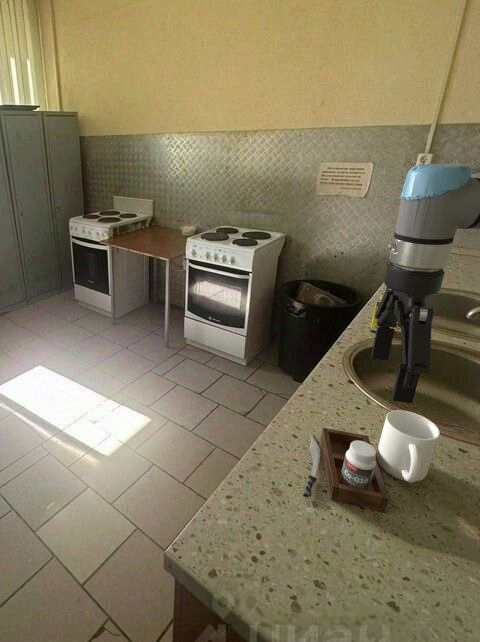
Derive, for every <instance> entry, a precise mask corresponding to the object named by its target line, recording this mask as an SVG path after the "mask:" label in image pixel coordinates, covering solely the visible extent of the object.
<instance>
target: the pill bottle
mask: <svg viewBox="0 0 480 642" xmlns="http://www.w3.org/2000/svg"><path fill="white" fill-rule="evenodd" d="M375 459H377V450H376V448H375V447H374V446H373V445H372V444H371V445H370V444H368V443H366V442H364V441H353V442H352V443H351V445H350V448H349V450H348V451H347V452H346V455H345V459H344V463H343V467H342V471H341V476H340V480H341V483H342V484H343V485H347V486H351V487H356V488H360V489H365V490H369V487H370V484H371V480H372V477H373V473H374V469H375V466H376V462H377V460H376V461H375Z"/></svg>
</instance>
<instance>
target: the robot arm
mask: <svg viewBox="0 0 480 642" xmlns="http://www.w3.org/2000/svg"><path fill="white" fill-rule="evenodd" d="M405 177H406V178H405V180H404V182H403V183H404V184H403V187H402V190H401V193H400V201H399V208H398V213H397V218H396V223H395V228H394V233H393V237H392V243H388V245H387V249H388V250H390V253H389V257H388V260H389V261H390V262H389V263H388V264H387V265H386V270H385V275H384V280H383V283H384V284H383V285H385V286H386V288H385V291H384V293H383V296H382V297H383V298H382V300H381V302H380V304H379V307H378V309H377V311H376V313H375V319H378V320H377V326H379V327H377V330H376V333H375V335H374V340H373V345H372V349H371V353H370V358H371V359H372V360H380V361H389V357H390V353H391V349H392V344H393V340H394V336H395V332H396V331H395V328H397V327H398V328H400V336H401V337H400V338H401V356H402V357H401V358H402V360H401V361H402V363H399V364H397V374H396V377H395V382H394V386H393V389H392V394H391V400H392V402H397V403H398V402H399V403H406V404H413V402H414V398H415V394H416V391H417V386H418V382H419V379H420V376H421V374H427V375H429V374H430V371H431V347H432V346H431V345H432V323H433V318H434V314H435V309H434V308H433V307H427V305H426V298H427V297H429V296H431V295H435V294H437V293H439V292H440V291H441V289H442V284H443V281H444V278H445V273H446V272H445V270H444V268H446V267H447V266H448V264H449V260H450V256H451V253H452V249H453V244H454V239H455V235H456V233H457V229H459V230H460V229H462V230H468V229H470V230H471V229H477V230H479V229H480V166H473V167H470V165H467V164H464V163H424V164H422V163H421V164H418V165H417V164H416V165H414V166H413V167H411V168H410V169H409V170H408V171H407V174H406V176H405ZM382 312H383V313H382ZM390 327H394V329H393V328H390Z"/></svg>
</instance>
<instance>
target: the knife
mask: <svg viewBox="0 0 480 642" xmlns="http://www.w3.org/2000/svg"><path fill="white" fill-rule="evenodd" d="M309 435H310V444H309V448H308V449H309V452H310V455H311V458H312V469H311V473H310V474H309V475H308V481H307V483H306V484H305V489H304V490H305V491H304V493H303V494H302V497H304V498H311V497H312V495H313V494H312V488H313V485H314V483H315V482H316V481H318V480H317V479H318V478H317V475H318V471H319V466H320V459H321V448H320V446H319V444H318V443H317V441H316V439H315V437H314V436H313V434H312V432H309Z"/></svg>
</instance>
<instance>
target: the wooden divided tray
mask: <svg viewBox="0 0 480 642" xmlns="http://www.w3.org/2000/svg"><path fill="white" fill-rule="evenodd" d="M319 441H320V445H321V452H322V457H323V463H324V468H325V470H324V471H325V475H326V480H327V487H328V493H329V498H330V501H332V502H337V503H341V504H345V505H349V506H353V507H357V508H363V509H367V510H371V511H375V512H379V513H382V514H383V513H384V514H385V513H386V510H387V507H388V504H389V500H390V499H389V495H388V492H387V489H386V486H385V484H384V480H383V477H382V474H381V470H380V468H379V464H378V461H377V458H375V461H376V466H375V469H374V473H373V477H372V480H371V484H370V487H369V490H365V489H360V488H356V487H351V486H347V485H343V484H342V483H341V480H340V476H341V471H342V467H343V463H344V459H345V455H346V452H347V451H348V450H349V448H350V445H351V443H352V442H353V441H364V442H366V443H368V444H370V445H371V446H372V443H371V440H370V438H369V435H365V434H361V433H356V432H355V433H354V432H349V431H344V430H339V429H333V428H327V427H322V429H321V434H320V440H319Z"/></svg>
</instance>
